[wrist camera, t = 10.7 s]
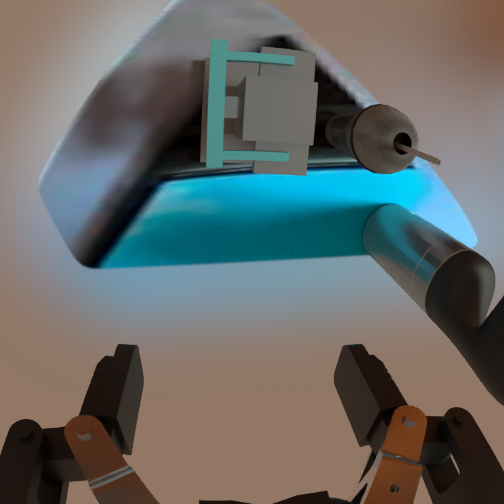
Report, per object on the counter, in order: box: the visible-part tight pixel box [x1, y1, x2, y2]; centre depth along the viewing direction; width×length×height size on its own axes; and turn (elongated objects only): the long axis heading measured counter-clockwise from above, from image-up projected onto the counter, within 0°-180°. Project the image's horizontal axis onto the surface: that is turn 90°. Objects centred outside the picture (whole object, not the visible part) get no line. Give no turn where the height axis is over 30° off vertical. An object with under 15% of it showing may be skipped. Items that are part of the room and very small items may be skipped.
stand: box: [200, 47, 318, 176], centre depth 32 cm, size 10×13×12 cm
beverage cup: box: [325, 104, 441, 174], centre depth 30 cm, size 7×7×20 cm
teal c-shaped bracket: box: [206, 39, 295, 168], centre depth 24 cm, size 7×10×5 cm
